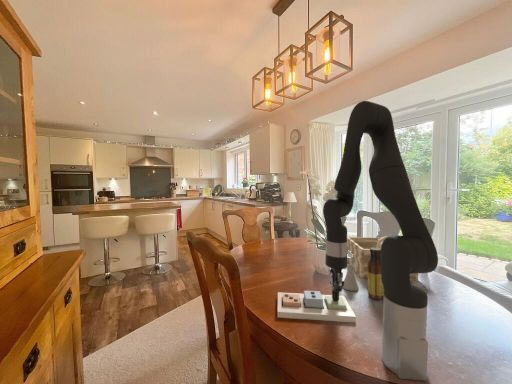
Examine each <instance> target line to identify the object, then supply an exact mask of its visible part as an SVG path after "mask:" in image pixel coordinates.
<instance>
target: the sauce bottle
mask: <svg viewBox="0 0 512 384" xmlns="http://www.w3.org/2000/svg"><path fill="white" fill-rule="evenodd" d="M370 253H371V257H370V260H369V262H368V270H367V273H368V278H367V294H368V296H369V297H370V298H372V299H375V300H379V301H380V300H384V288H383V284H382V279H381V249H379V248H370Z"/></svg>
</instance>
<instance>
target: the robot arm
mask: <svg viewBox="0 0 512 384" xmlns="http://www.w3.org/2000/svg"><path fill="white" fill-rule="evenodd" d="M392 116H393V115H392V113H391V111H390V109H389V108H388V107H386V106H384V105H382V104H379V103H376V102H373V101H369V100H361V101H359V102H358V103H357V104H356V105H355V106H354V107H353V109H352V110H351V113H350V115H349V119H348V124H347V128H346V133H345V141H344V146H343V147H344V148H343V154H342V158H341V163H340V167H339V170H338V173H337V176H336V179H335V182H334V186H333V187H334V190H335V191H336V192H337V194H336V198H335V197H334V198H329V199H327V200H326V201H325V202H324V204H323V207H322V214H323V219H324V223H325V226H326V243H325V262H324V263H325V266H326V267H328V272H329V273H328V274H329V281H330V282H329V284H330V288H331V295H332V299H333V300H334V301H339V296H340V292H341V293H342V291H343V289H344V288H343V286H344V280H343V277H344V273H343V272H342V271H343V270H344V269H347V265H348V262H347V254H348V247H347V237H348V228H347V225H345V224H343V221H342V218H345V217H347V216H348V215H349V214H350V213H351V211H352V210H353V208H354V207H353V206H354V201H355V200H354V199H355V190H356V189H357V186H358V182H359V180H360V178H361V173H362V160H361V144H362V143H361V142H362V138H363V136H364V134H367V135H369V138H370V139H371V142H372V146H373V155H372V158H371V160H370V163H369V166H368V175H369V176H368V177H369V179H370V184H371V188H372V191H373V194H374V195H375V196H376V198H377V199H378V200H379V202H380V203H382V205H384V207H385V208H386V209H387V210H388V211H389V212H390V213H391V214H392V216H393V217H394V218H395V220H396V222H397V223H398V226H399V228H400V231H401V233H402V234H401V235H390V236H387V238H385V239H384V241H383V243H382V246H381V279H382V284H383V288H384V299H383V302H382V303H383V305H382V306H383V308H382V309H383V311H382V339H381V341H382V343H381V344H382V346H381V347H382V348H381V349H382V351H381V359H382V362H383V364H384V366H386V367H387V369H389V370H390V372H392V373H394V374H395V375H396V376H397V377H398V378H399V379H403V380H412V381H413V380H415V381H421V382H423V381H425V382H426V381H427V380H428V379H427V378H428V377H427V376H428V375H427V374H428V354H429V353H428V351H429V349H428V347H429V342H428V341H427V326H428V324H427V323H428V322H427V321H428V304H429V303H428V301H429V299H428V293H427V292H426V291H425V289H423V288H422V287H420V286H418V285H416V284H415V283H411V280H410V274H414V273H419V274H429V273H432V272H433V271H435V270H436V269H437V267H438V265H439V257H438V251H437V248H436V245H435V243H434V239H433V238H432V236H431V233H430V231H429V229H428V227H427V225H426V222H425V220H424V217H423V215H422V214H421V211H420V209H419V205H418V203H417V200H416V198H415V195H414V192H413V188H412V184H411V180H410V178H409V175H408V172H407V169H406V165H405V164H404V161H403V158H402V155H401V150H400V148H399V145H398V142H397V138H396V132H395V127H394V120H393V117H392Z"/></svg>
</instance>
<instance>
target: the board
mask: <svg viewBox="0 0 512 384" xmlns="http://www.w3.org/2000/svg"><path fill="white" fill-rule="evenodd" d="M283 294H296V295H299V299H300V308H298V307H283ZM321 295H322V298H323V308H316V307H305V301H304V293H301V292H300V293H296V292H282V291H281V292H280V291H278V292H277V318H281V319H283V318H284V319H295V320H311V321H323V322H324V321H326V322H341V323H343V322H344V323H357V315H355V312H354V311H353V309H352V307H351V305H350V304H349V302H348V301H347V299H346V297H345V295H339V297H342V299H343V301H344V302H345V304H346V310H331V309H327V307H326V304H325V296H332V294H321Z"/></svg>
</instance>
